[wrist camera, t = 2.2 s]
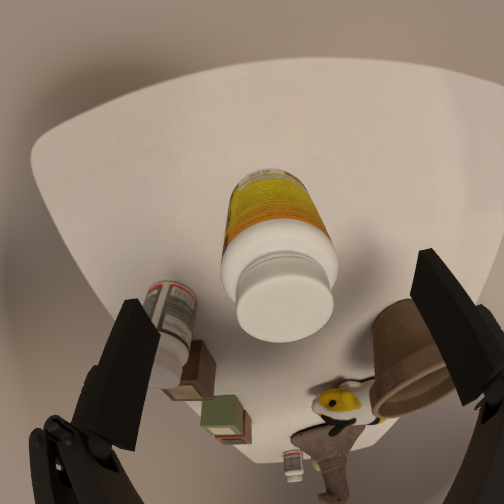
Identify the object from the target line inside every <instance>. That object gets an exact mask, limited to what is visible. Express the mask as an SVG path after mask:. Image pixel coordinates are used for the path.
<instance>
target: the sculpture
mask: <svg viewBox="0 0 504 504" xmlns="http://www.w3.org/2000/svg"><path fill="white" fill-rule="evenodd" d="M334 427H335V426H333V425H330V424H328V425H324V426H320V427H316V428H312V429H309V430H306V431H303V432H299V433H297V434H295V435H294V436H293V437H292V438H291V443H292V444H293V445H294V446H296V447H298V448H300V449H301V450H303V451H304V452H305V453H307V454H308V455H309V456H311V457H312V458H313V459H314V460H315V461H316V462H317V464H318V466H319V468H320V470H321V472H322V475H323V478H324V482H325V486H326V493H320V494H318V498H319V501H320V503H321V504H345V503H346V502H347V500H348V497H349V490H348V486H347V480H346V461H347V456H348V453H349V451H350V450H351V448H352V446H353V445H354V443H355V441H356V439H357V438H358V437H359V435H360V434H361V433H362V432H363V430H364V429H365V425H351V426H346V427H345V428H344V429H343V430H342V431H341V432H340V433H339V434H338V435H337V436H334V437H330V436H329V435H328V433H329V431H330V430H331V429H332V428H334Z"/></svg>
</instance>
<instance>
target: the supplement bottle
mask: <svg viewBox="0 0 504 504" xmlns="http://www.w3.org/2000/svg"><path fill="white" fill-rule="evenodd" d="M337 275H338V257H337V254H336V251H335V248H334V246H333V243H332V241H331V239H330V237H329V235H328V232H327V230H326V228H325V226H324V224H323V222H322V220H321V218H320V216H319V214H318V211H317V209H316V207H315V205H314V203H313V201H312V199H311V197H310V195H309V193H308V192H307V190H306V188H305V186H304V185H303V184H302V182H301V181H300V180H299V179H297V178H296V177H295V176H293V175H292V174H290V173H288V172H286V171H283V170H279V169H263V170H258V171H256V172H253V173H251V174H249V175H247V176H246V177H245V178H243V179H242V180H241V181H240V182H239V183H238V184H237V186H236V187H235V189H234V191H233V193H232V195H231V198H230V203H229V209H228V216H227V223H226V231H225V239H224V246H223V253H222V260H221V280H222V284H223V287H224V289H225V291H226V293H227V294H228V296H229V297H230V299H231V300H232V301H233V302H234V303H235V304H236V315H237V319H238V322H239V324H240V326H241V327H242V328H243V329H244V330H245V331H246V332H247V333H248V334H250V335H251V336H253V337H255V338H257V339H260V340H263V341H267V342H275V343H282V342H291V341H296V340H300V339H303V338H305V337H308V336H310V335H312V334H314V333H315V332H317V331H318V330H319V329H321V328H322V327H323V326H324V325H325V324H326V322H327V321H328V320H329V318H330V316H331V314H332V311H333V307H334V301H333V296H332V293H331V289H332V288H333V286H334V284H335V282H336V279H337Z"/></svg>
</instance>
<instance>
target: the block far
mask: <svg viewBox="0 0 504 504" xmlns="http://www.w3.org/2000/svg"><path fill="white" fill-rule="evenodd" d="M200 426H201V427H202V428H204V429H205V430H206V431H207V432H209V433H210V434H211V435H240V434H243V407H242V405H241V403H240V402H239V400H238V399H237V397H236V396H235V395H226V396H214V398H213V400H209V401H202V411H201V423H200Z"/></svg>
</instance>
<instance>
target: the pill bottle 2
mask: <svg viewBox="0 0 504 504" xmlns="http://www.w3.org/2000/svg"><path fill="white" fill-rule="evenodd" d="M283 455H284V472H285V475H287V476H288V478H287V481H288V482H296V481H301V480H302V476H301V474H302V473H304V465H303V455H302V451H301V450H292V451H287V452H284V453H283Z"/></svg>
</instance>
